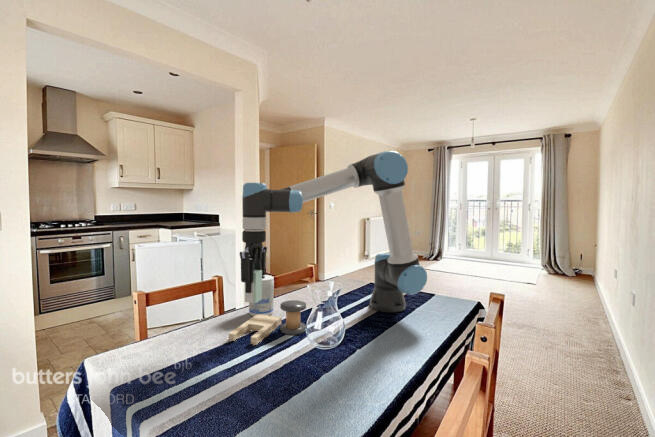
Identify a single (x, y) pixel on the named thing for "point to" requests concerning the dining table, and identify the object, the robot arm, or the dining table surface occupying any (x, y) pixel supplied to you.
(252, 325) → the notched board
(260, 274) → the peg
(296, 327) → the bobbin
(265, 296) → the supplement tub
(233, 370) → the dining table surface
